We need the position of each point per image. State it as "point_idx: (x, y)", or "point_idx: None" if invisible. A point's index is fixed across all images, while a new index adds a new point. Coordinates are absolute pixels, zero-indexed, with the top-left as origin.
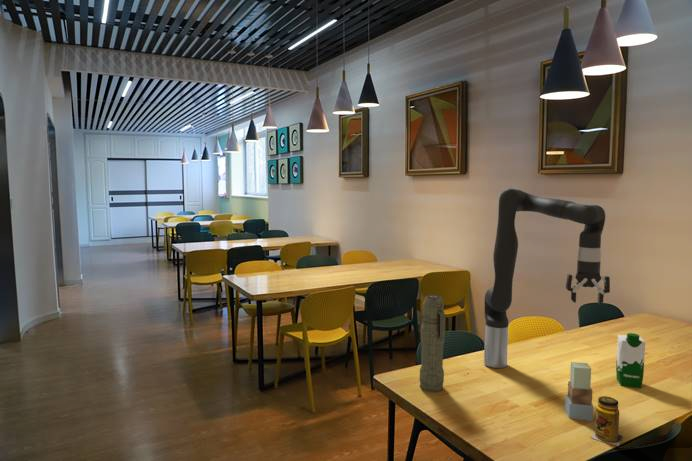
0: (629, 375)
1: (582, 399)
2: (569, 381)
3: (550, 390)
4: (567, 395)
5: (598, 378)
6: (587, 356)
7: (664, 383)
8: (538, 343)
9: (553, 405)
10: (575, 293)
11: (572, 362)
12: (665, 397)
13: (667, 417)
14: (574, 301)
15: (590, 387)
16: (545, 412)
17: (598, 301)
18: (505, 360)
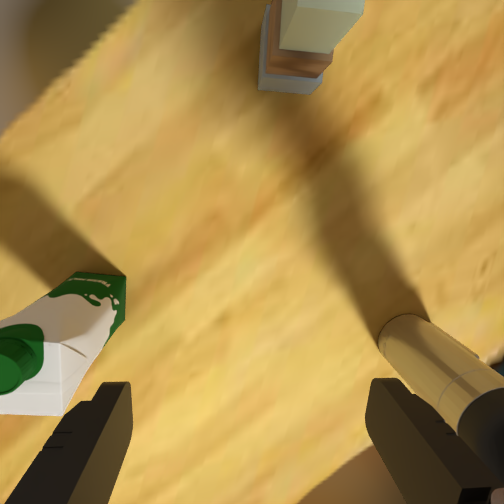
0: (94, 281)
1: None
2: (329, 59)
3: (313, 204)
4: (317, 78)
5: (171, 311)
6: (161, 447)
7: None
8: (261, 499)
9: (332, 108)
10: (466, 478)
11: (359, 6)
12: (28, 225)
13: (58, 91)
14: (394, 381)
15: (275, 12)
16: (364, 58)
17: (123, 426)
18: (396, 333)
